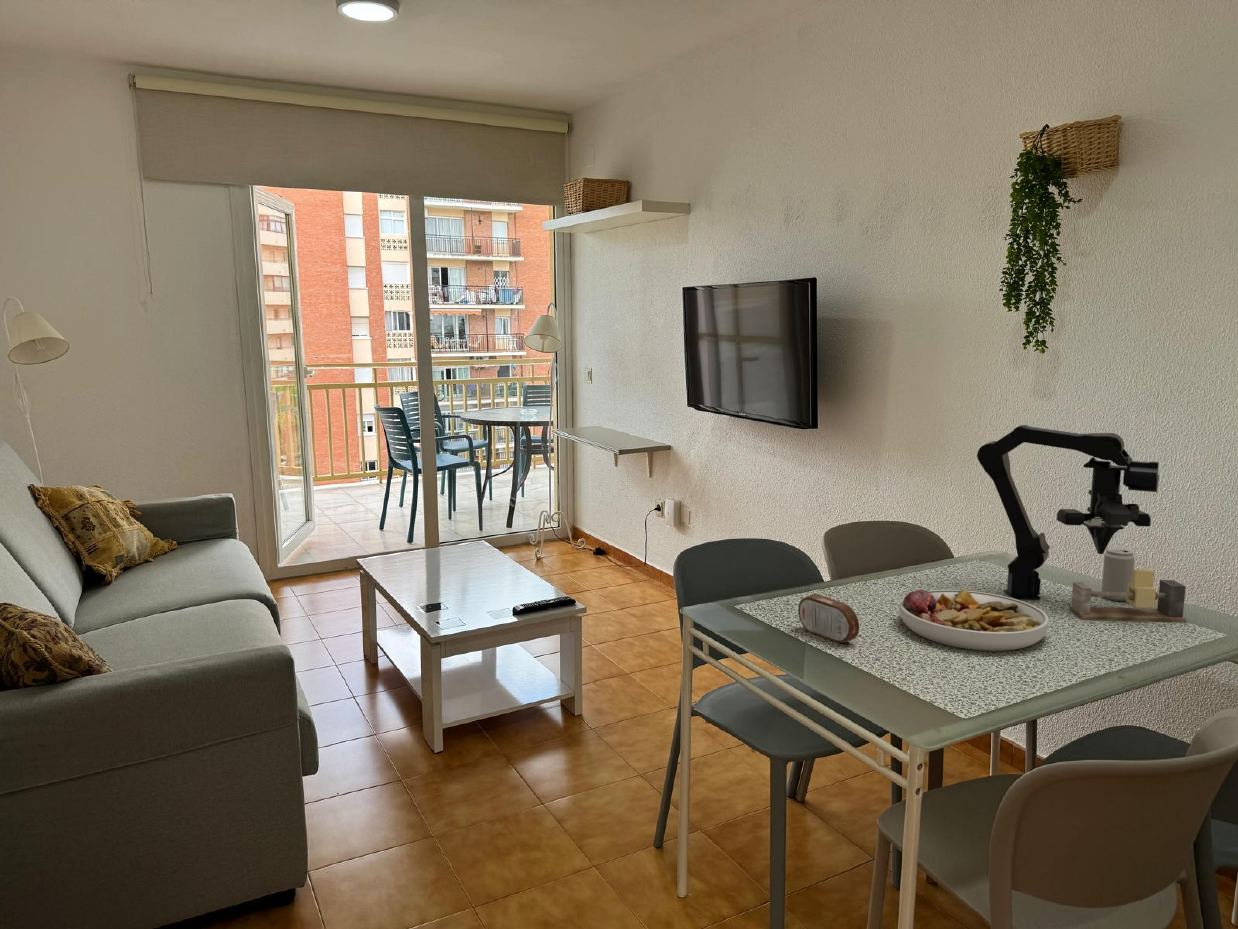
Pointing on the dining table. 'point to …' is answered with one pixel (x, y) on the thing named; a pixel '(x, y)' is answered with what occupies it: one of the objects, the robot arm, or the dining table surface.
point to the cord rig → (1166, 611)
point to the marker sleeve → (1142, 588)
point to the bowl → (973, 619)
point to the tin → (828, 618)
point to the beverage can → (1117, 571)
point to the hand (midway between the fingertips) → (1100, 553)
